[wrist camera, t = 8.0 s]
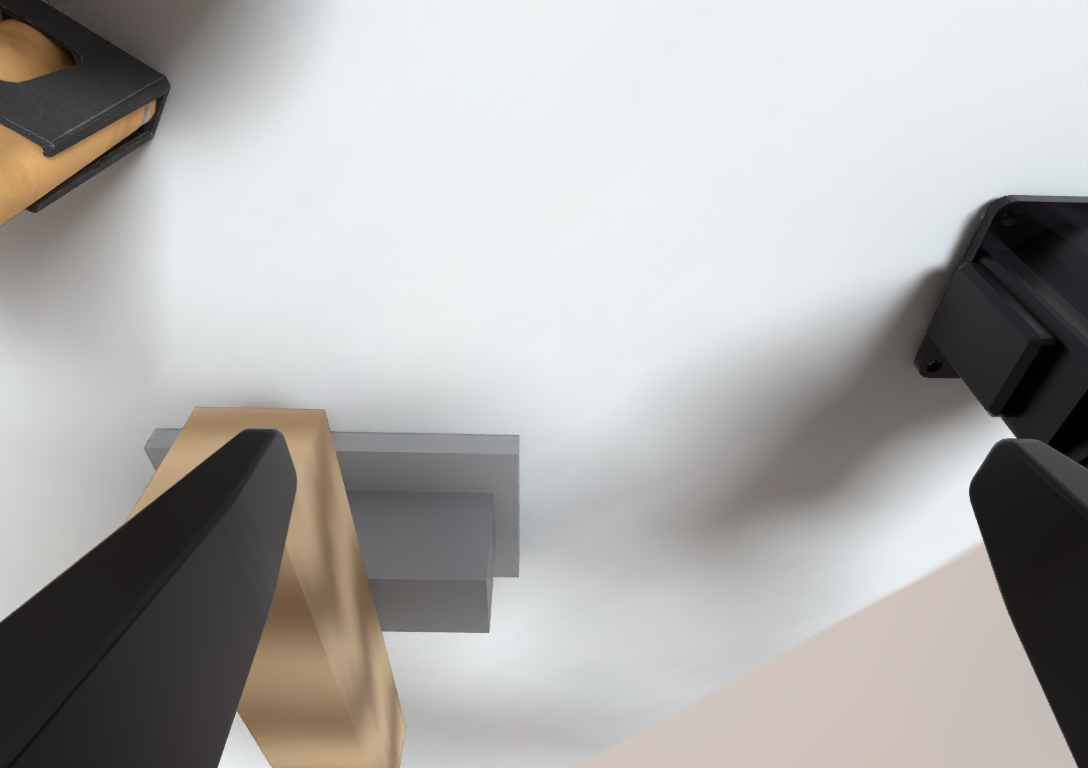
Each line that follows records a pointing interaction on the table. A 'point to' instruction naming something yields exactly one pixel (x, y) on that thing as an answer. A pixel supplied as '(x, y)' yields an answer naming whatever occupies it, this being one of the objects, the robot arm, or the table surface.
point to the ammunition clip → (65, 105)
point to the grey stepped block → (426, 521)
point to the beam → (307, 608)
